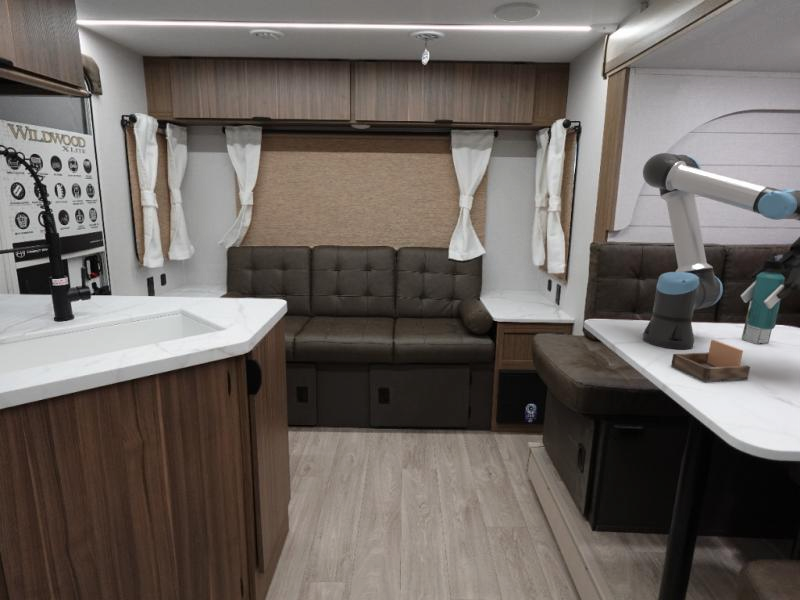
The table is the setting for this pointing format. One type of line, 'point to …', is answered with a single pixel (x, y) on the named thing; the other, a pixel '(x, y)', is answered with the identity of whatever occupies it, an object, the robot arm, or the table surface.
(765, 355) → the table surface
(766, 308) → the beverage bottle
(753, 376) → the table surface
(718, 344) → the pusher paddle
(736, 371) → the wooden tray
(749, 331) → the syrup box
